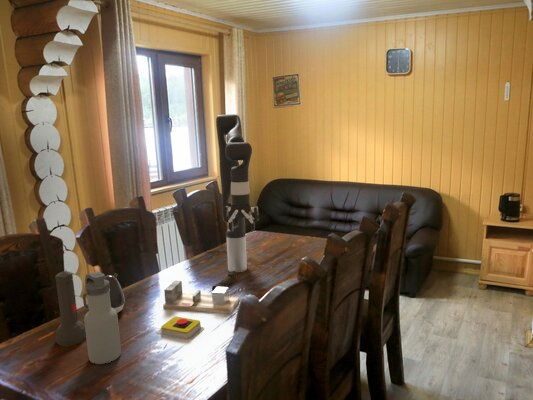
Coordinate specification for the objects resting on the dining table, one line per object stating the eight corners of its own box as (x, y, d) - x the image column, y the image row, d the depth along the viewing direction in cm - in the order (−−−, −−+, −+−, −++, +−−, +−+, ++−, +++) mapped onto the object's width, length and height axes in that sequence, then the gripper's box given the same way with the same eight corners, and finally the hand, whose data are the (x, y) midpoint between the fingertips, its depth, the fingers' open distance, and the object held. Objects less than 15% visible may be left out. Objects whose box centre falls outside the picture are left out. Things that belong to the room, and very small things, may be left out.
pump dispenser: (131, 307, 175) (127, 271, 172) (115, 319, 165) (111, 281, 162) (109, 305, 178) (105, 270, 175) (92, 316, 168) (88, 279, 165)
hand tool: (219, 295, 185) (219, 284, 184) (211, 293, 187) (211, 283, 186) (241, 279, 202) (241, 270, 201) (234, 278, 204) (233, 269, 203)
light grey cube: (217, 298, 177) (216, 286, 176) (229, 298, 176) (228, 287, 175) (212, 304, 171) (211, 292, 170) (224, 305, 170) (224, 293, 169)
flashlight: (49, 345, 148) (74, 348, 145) (40, 275, 143) (65, 277, 140) (70, 331, 157) (93, 334, 154) (61, 265, 152) (85, 267, 150)
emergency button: (190, 330, 147) (154, 323, 153) (191, 341, 148) (155, 334, 154) (204, 318, 155) (169, 311, 161) (205, 329, 156) (170, 322, 162)
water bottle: (83, 356, 140) (73, 274, 134) (112, 345, 146) (103, 266, 141) (96, 369, 133) (86, 282, 127) (126, 356, 139) (118, 273, 134)
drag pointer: (198, 296, 179) (198, 289, 178) (200, 296, 179) (200, 290, 178) (189, 306, 170) (189, 299, 169) (192, 306, 170) (191, 299, 169)
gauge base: (176, 296, 185) (174, 279, 183) (239, 300, 179) (238, 283, 177) (163, 308, 173) (162, 290, 172) (230, 313, 167) (229, 295, 166)
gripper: (259, 190, 177) (261, 229, 180) (226, 190, 180) (228, 228, 183) (255, 194, 169) (256, 234, 173) (220, 194, 173) (222, 233, 176)
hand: (242, 231), depth 178 cm, fingers open, 8 cm apart
